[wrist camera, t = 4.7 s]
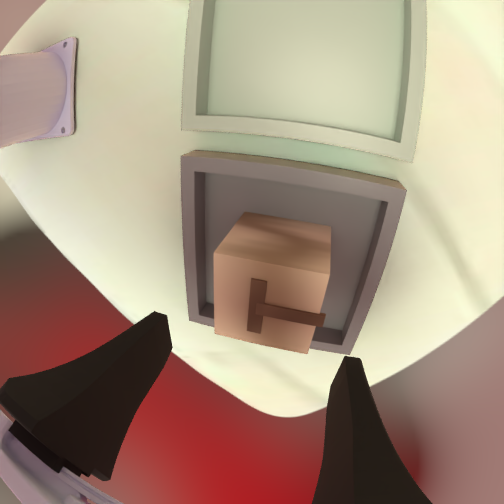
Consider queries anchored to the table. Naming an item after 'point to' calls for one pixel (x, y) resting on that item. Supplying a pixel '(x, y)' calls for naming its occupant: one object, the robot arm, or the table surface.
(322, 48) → the sage tray
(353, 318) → the charcoal tray
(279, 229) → the letter cube
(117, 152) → the table surface
